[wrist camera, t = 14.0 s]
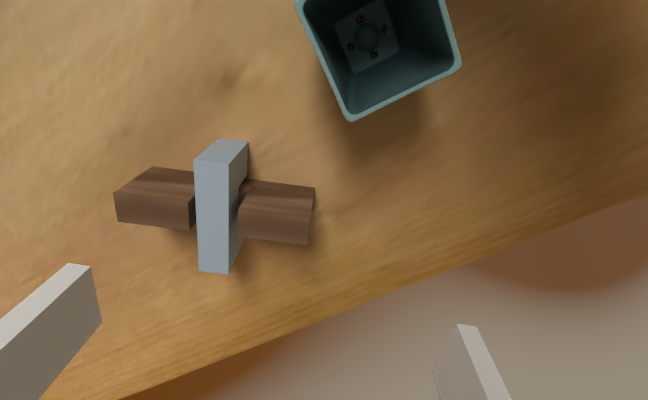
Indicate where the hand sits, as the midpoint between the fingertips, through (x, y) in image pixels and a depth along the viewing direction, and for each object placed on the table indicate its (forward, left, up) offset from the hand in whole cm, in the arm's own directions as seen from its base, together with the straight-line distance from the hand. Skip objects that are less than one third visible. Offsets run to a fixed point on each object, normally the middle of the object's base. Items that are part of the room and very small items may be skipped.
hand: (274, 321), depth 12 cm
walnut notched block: (+7, -8, -24) cm, 26 cm away
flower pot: (-10, +4, -24) cm, 27 cm away
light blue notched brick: (+7, -8, -24) cm, 26 cm away
